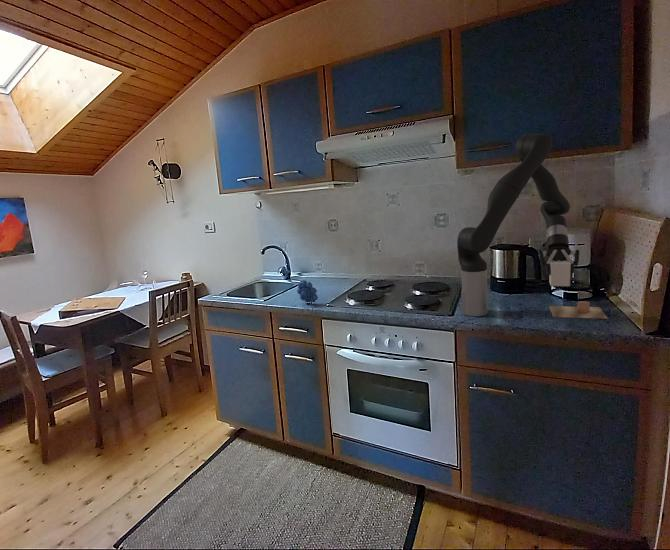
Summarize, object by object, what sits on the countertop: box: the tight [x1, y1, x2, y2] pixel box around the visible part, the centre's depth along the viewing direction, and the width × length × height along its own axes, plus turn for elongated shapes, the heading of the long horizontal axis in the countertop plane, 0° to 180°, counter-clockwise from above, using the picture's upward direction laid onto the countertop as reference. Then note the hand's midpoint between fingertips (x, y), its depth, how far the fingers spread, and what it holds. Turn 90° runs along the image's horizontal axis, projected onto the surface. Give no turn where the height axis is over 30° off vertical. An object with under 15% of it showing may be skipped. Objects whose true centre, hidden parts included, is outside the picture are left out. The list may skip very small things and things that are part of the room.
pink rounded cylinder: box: [576, 300, 591, 314], centre depth 136 cm, size 4×4×4 cm
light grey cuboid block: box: [548, 261, 571, 287], centre depth 147 cm, size 6×6×8 cm
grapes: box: [296, 279, 319, 304], centre depth 185 cm, size 12×7×12 cm, turn 58°
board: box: [549, 305, 609, 319], centre depth 137 cm, size 16×13×1 cm
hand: (560, 273), depth 145 cm, fingers closed on light grey cuboid block, 6 cm apart
